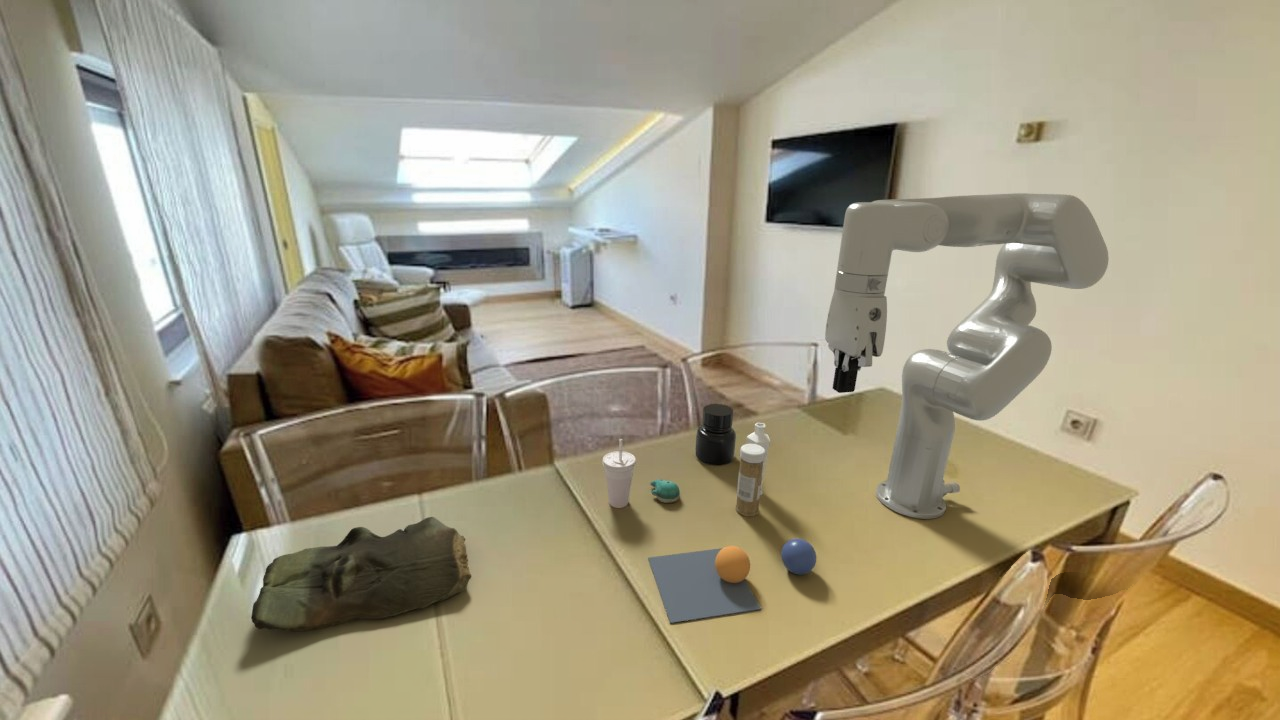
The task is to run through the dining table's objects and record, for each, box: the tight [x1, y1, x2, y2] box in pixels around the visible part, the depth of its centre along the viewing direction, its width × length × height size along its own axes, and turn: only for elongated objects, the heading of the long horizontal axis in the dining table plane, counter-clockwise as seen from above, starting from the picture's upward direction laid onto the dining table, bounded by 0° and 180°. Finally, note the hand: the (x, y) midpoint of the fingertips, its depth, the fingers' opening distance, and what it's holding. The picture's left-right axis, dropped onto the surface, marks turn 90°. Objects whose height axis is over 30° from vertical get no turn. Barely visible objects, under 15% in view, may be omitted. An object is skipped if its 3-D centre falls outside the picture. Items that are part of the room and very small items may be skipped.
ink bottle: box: [695, 403, 737, 466], centre depth 120 cm, size 10×9×12 cm
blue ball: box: [780, 537, 817, 576], centre depth 85 cm, size 6×6×6 cm
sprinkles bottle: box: [735, 443, 765, 517], centre depth 100 cm, size 5×5×14 cm
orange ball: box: [715, 545, 751, 583], centre depth 83 cm, size 6×6×6 cm
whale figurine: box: [649, 478, 681, 504], centre depth 106 cm, size 6×7×4 cm
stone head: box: [251, 516, 472, 632], centre depth 82 cm, size 19×8×28 cm
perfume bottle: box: [746, 422, 771, 496], centre depth 106 cm, size 5×4×15 cm
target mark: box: [647, 547, 762, 624], centre depth 83 cm, size 14×14×1 cm
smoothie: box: [602, 438, 637, 509], centre depth 101 cm, size 6×6×14 cm
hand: (843, 390), depth 89 cm, fingers closed
